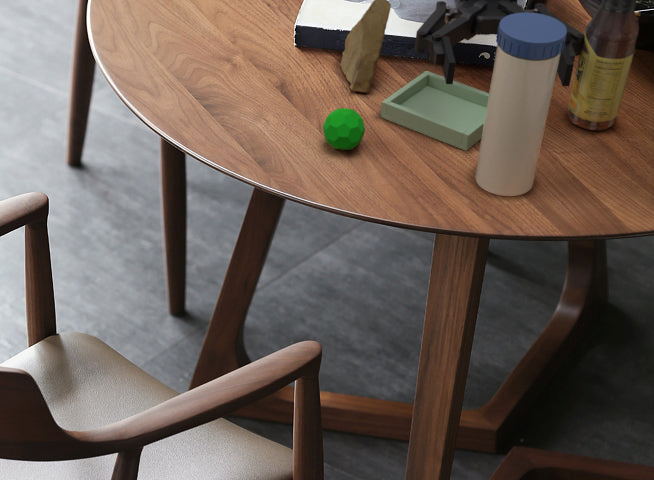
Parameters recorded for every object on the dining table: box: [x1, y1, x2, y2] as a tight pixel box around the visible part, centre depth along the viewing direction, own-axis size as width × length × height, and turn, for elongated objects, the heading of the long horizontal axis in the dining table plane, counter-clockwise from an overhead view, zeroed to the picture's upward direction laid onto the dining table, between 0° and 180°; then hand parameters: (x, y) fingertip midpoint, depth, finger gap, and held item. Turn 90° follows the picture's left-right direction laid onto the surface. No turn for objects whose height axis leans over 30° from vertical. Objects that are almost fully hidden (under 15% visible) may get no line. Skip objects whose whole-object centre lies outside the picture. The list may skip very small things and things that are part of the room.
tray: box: [379, 70, 489, 152], centre depth 136 cm, size 13×11×2 cm
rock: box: [339, 0, 392, 94], centre depth 142 cm, size 11×9×10 cm
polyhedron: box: [322, 107, 366, 151], centre depth 130 cm, size 5×5×5 cm
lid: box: [495, 12, 567, 59], centre depth 114 cm, size 7×7×2 cm
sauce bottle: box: [568, 0, 640, 132], centre depth 130 cm, size 7×6×20 cm
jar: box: [474, 43, 561, 197], centre depth 120 cm, size 7×7×19 cm
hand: (509, 74), depth 124 cm, fingers open, 13 cm apart
